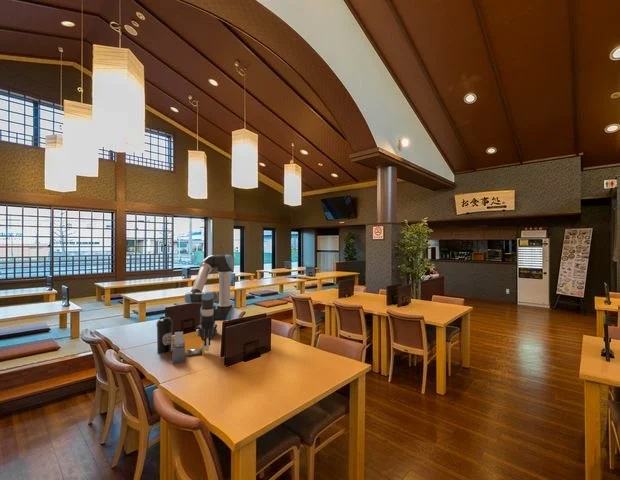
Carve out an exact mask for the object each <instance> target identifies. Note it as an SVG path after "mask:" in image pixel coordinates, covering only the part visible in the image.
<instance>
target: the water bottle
mask: <svg viewBox="0 0 620 480" xmlns="http://www.w3.org/2000/svg"><path fill="white" fill-rule="evenodd" d="M173 325H174V321H173V320H172V319H171V317H169V316H168V317H167V316H166V315H165V316H160V317H159V319H158V320H157V322H156V339H157V346H156V347H157V353H158V354H160V353H164V354H167V353H168V354H169V353H172V339H173Z"/></svg>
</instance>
